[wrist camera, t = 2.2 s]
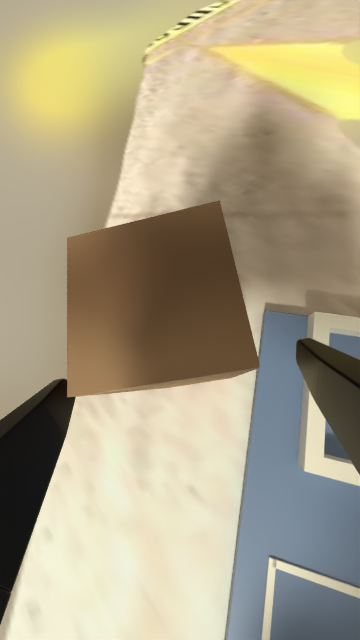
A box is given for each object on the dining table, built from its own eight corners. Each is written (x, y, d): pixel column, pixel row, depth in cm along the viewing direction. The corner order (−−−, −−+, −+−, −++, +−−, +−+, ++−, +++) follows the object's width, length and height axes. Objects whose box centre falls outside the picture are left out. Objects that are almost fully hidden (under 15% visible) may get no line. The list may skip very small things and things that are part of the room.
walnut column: (231, 378, 17) (260, 367, 5) (167, 387, 18) (67, 397, 6) (218, 316, 19) (219, 200, 7) (160, 327, 19) (67, 237, 7)
